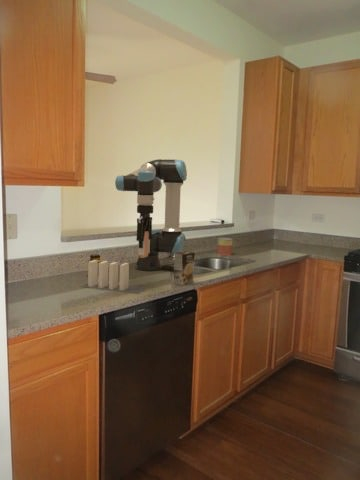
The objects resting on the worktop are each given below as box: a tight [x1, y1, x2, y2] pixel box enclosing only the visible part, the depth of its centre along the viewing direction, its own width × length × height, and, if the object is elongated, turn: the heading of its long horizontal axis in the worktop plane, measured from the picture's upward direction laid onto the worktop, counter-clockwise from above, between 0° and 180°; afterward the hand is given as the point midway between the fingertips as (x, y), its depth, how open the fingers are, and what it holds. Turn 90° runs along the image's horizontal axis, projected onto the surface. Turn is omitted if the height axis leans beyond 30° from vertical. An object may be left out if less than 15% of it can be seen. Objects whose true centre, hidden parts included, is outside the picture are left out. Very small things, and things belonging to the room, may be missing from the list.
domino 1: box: [87, 260, 98, 287], centre depth 191 cm, size 2×6×12 cm, turn 162°
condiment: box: [88, 253, 102, 270], centre depth 211 cm, size 7×8×12 cm
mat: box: [80, 283, 148, 295], centre depth 189 cm, size 11×30×1 cm, turn 73°
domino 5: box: [140, 231, 149, 258], centre depth 186 cm, size 2×6×12 cm, turn 163°
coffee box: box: [172, 250, 196, 286], centre depth 205 cm, size 9×6×16 cm
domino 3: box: [108, 261, 119, 289], centre depth 188 cm, size 2×6×12 cm, turn 163°
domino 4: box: [119, 262, 130, 291], centre depth 186 cm, size 2×6×12 cm, turn 163°
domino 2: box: [98, 260, 109, 288], centre depth 190 cm, size 2×6×12 cm, turn 162°
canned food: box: [216, 237, 234, 256], centre depth 299 cm, size 11×11×12 cm
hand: (143, 253), depth 187 cm, fingers closed on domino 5, 6 cm apart
